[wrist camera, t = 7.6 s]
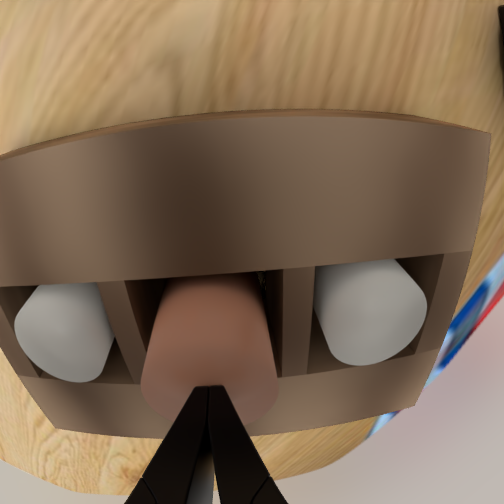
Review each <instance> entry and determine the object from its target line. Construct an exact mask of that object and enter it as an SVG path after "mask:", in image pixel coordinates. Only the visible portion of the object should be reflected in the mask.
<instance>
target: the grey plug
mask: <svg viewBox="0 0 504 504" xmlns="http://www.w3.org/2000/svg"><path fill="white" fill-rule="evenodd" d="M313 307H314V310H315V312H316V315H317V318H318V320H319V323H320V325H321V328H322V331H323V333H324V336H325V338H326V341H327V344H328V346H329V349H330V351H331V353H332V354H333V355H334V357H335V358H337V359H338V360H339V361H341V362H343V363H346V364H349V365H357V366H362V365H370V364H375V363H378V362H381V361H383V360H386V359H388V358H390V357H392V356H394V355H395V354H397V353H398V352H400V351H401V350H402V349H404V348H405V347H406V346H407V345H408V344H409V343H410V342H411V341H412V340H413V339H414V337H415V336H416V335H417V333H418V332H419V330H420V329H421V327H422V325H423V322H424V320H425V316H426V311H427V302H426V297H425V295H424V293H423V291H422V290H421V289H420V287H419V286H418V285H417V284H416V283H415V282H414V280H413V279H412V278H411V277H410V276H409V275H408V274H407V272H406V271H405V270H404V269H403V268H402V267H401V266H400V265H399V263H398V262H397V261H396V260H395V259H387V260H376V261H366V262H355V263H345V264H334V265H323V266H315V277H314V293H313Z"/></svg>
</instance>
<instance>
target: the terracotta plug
mask: <svg viewBox="0 0 504 504" xmlns="http://www.w3.org/2000/svg"><path fill="white" fill-rule="evenodd" d="M212 385H223V386H224V387H225V389H226V391H227V393H228V395H229V397H230V399H231V401H232V403H233V405H234V407H235V409H236V411H237V413H238V415H239V417H240V419H241V421H242V423H243V425H246V424H249V423H251V422H253V421H255V420H257V419H259V418H260V417H262V416H263V415H265V414H266V413H267V412H268V411H269V410H270V409H271V408H272V407H273V405H274V404H275V402H276V400H277V397H278V393H279V385H278V379H277V374H276V368H275V363H274V357H273V352H272V346H271V341H270V336H269V330H268V325H267V319H266V314H265V308H264V303H263V298H262V292H261V287H260V282H259V278H258V275H257V273H256V271H251V272H238V273H225V274H212V275H198V276H184V277H170V278H166V281H165V284H164V288H163V292H162V295H161V299H160V303H159V307H158V310H157V314H156V318H155V322H154V326H153V330H152V334H151V338H150V342H149V346H148V351H147V355H146V359H145V363H144V368H143V372H142V377H141V391H142V394H143V397H144V398H145V400H146V402H147V403H148V404H149V406H150V407H151V408H152V409H153V410H154V411H156V412H157V413H158V414H159V415H161V416H163V417H164V418H166V419H168V420H170V421H172V422H174V421H175V419H176V417H177V416H178V414H179V412H180V411H181V409H182V407H183V405H184V404H185V402H186V400H187V399H188V397H189V395H190V393H191V392H192V390H193V388H194V387H195V386H209V387H210V386H212Z"/></svg>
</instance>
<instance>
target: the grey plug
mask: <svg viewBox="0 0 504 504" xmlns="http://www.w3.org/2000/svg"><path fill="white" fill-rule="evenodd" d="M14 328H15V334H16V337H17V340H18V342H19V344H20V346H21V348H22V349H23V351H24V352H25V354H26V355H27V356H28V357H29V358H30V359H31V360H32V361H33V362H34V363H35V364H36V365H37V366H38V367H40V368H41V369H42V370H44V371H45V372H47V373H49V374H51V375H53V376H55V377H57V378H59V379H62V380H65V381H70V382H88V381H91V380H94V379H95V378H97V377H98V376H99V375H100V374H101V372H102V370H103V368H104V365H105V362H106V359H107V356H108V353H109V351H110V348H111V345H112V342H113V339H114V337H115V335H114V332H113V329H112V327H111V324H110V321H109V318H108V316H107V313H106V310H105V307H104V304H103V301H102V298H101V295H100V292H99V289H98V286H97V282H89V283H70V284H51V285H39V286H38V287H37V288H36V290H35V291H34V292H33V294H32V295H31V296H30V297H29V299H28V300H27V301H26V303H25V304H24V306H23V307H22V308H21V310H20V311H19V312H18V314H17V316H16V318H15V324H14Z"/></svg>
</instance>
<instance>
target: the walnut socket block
mask: <svg viewBox="0 0 504 504" xmlns="http://www.w3.org/2000/svg"><path fill="white" fill-rule="evenodd" d="M490 142H491V134H490V133H487V132H483V131H480V130H476V129H472V128H468V127H464V126H460V125H456V124H452V123H447V122H443V121H438V120H434V119H429V118H424V117H419V116H413V115H404V114H394V113H383V112H370V111H353V110H328V109H272V110H247V111H230V112H217V113H205V114H195V115H185V116H177V117H169V118H161V119H154V120H147V121H140V122H134V123H128V124H122V125H117V126H111V127H106V128H101V129H96V130H91V131H87V132H82V133H78V134H73V135H69V136H65V137H61V138H57V139H53V140H49V141H45V142H41V143H38V144H34V145H31V146H27V147H24V148H20V149H17V150H14V151H10V152H8V153H5V154H3V155H0V347H1V349H2V351H3V352H4V354H5V356H6V358H7V359H8V361H9V363H10V364H11V366H12V367H13V369H14V371H15V372H16V374H17V375H18V377H19V378H20V380H21V382H22V383H23V385H24V386H25V387H26V389H27V390H28V392H29V393H30V395H31V396H32V398H33V399H34V400H35V402H36V403H37V405H38V406H39V407H40V409H41V410H42V411H43V413H44V414H45V415H46V417H47V418H48V419H49V421H50V422H51V423H52V424H53V426H54V427H55V428H58V429H64V430H70V431H77V432H84V433H92V434H100V435H110V436H121V437H135V438H156V439H164V438H165V436H166V434H167V433H168V431H169V429H170V428H171V426H172V424H173V422H172V421H170V420H168V419H166V418H164V417H163V416H161V415H159V414H158V413H157V412H156V411H154V410H153V409H152V408H151V407H150V406H149V404H148V403H147V402H146V400H145V398H144V397H143V394H142V391H141V377H142V372H143V368H144V363H145V359H146V355H147V351H148V346H149V342H150V338H151V334H152V330H153V326H154V322H155V318H156V314H157V310H158V307H159V303H160V299H161V295H162V292H163V288H164V284H165V281H166V278H170V277H184V276H198V275H212V274H225V273H238V272H251V271H264V270H266V299H264V300H263V303H264V308H265V314H266V319H267V325H268V330H269V336H270V341H271V346H272V352H273V357H274V363H275V368H276V374H277V379H278V385H279V393H278V397H277V400H276V402H275V404H274V405H273V407H272V408H271V409H270V410H269V411H268V412H267V413H266V414H265V415H263V416H262V417H260V418H259V419H257V420H255V421H253V422H251V423H249V424H246V425H244V427H245V429H246V431H247V433H248V435H249V436H259V435H270V434H279V433H287V432H294V431H302V430H308V429H315V428H321V427H326V426H332V425H337V424H343V423H347V422H352V421H357V420H362V419H366V418H370V417H375V416H379V415H383V414H387V413H390V412H394V411H398V410H402V409H405V408H409V407H412V406H414V405H415V403H416V401H417V400H418V397H419V395H420V393H421V391H422V389H423V387H424V385H425V383H426V381H427V379H428V376H429V374H430V372H431V370H432V368H433V365H434V363H435V361H436V358H437V356H438V353H439V351H440V349H441V346H442V344H443V341H444V339H445V336H446V333H447V331H448V328H449V325H450V323H451V320H452V317H453V314H454V311H455V308H456V305H457V302H458V299H459V296H460V293H461V290H462V287H463V283H464V280H465V276H466V273H467V269H468V266H469V262H470V258H471V254H472V250H473V246H474V242H475V238H476V233H477V229H478V224H479V219H480V214H481V209H482V203H483V198H484V192H485V185H486V178H487V171H488V162H489V153H490ZM387 259H395V260H396V261H397V262H398V263H399V265H400V266H401V267H402V268H403V269H404V270H405V271H406V272H407V274H408V275H409V276H410V277H411V278H412V279H413V280H414V282H415V283H416V284H417V285H418V286H419V287H420V289H421V290H422V291H423V293H424V295H425V297H426V302H427V311H426V316H425V320H424V322H423V325H422V327H421V329H420V330H419V332H418V333H417V335H416V336H415V337H414V339H413V340H412V341H411V342H410V343H409V344H408V345H407V346H406V347H405V348H404V349H402V350H401V351H400V352H398V353H397V354H395V355H394V356H392V357H390V358H388V359H386V360H383V361H381V362H378V363H375V364H370V365H362V366H357V365H349V364H346V363H343V362H341V361H339V360H338V359H337V358H335V357H334V355H333V354H332V353H331V351H330V349H329V346H328V344H327V341H326V338H325V336H324V333H323V331H322V328H321V325H320V323H319V320H318V318H317V315H316V312H315V310H314V307H313V293H314V277H315V266H323V265H334V264H345V263H355V262H366V261H376V260H387ZM89 282H97V286H98V289H99V292H100V295H101V298H102V301H103V304H104V307H105V310H106V313H107V316H108V318H109V321H110V324H111V327H112V329H113V332H114V335H115V337H114V339H113V342H112V345H111V348H110V351H109V353H108V356H107V359H106V362H105V365H104V368H103V370H102V372H101V374H100V375H99V376H98V377H97V378H95V379H94V380H91V381H88V382H70V381H65V380H62V379H59V378H57V377H55V376H53V375H51V374H49V373H47V372H45V371H44V370H42V369H41V368H40V367H38V366H37V365H36V364H35V363H34V362H33V361H32V360H31V359H30V358H29V357H28V356H27V355H26V354H25V352H24V351H23V349H22V348H21V346H20V344H19V342H18V340H17V337H16V334H15V328H14V324H15V318H16V316H17V314H18V312H19V311H20V310H21V308H22V307H23V306H24V304H25V303H26V301H27V300H28V299H29V297H30V296H31V295H32V294H33V292H34V291H35V290H36V288H37V287H38V286H39V285H51V284H70V283H89Z"/></svg>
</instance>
